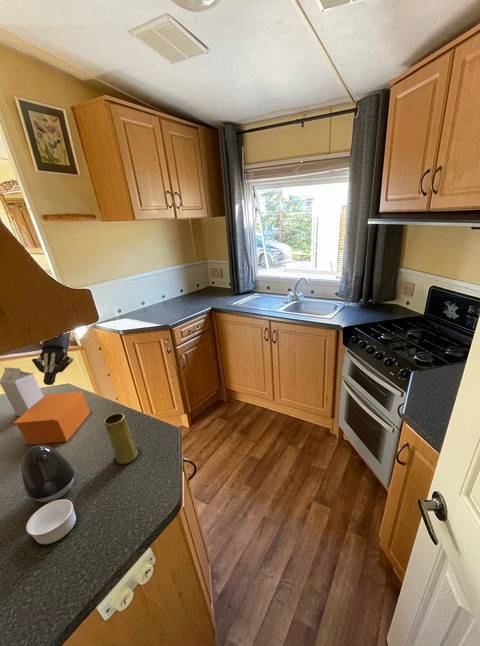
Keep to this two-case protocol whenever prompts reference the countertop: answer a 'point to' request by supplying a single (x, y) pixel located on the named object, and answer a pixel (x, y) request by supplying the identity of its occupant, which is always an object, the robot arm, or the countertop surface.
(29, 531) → the ramekin
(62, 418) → the box
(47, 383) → the robot arm
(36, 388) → the milk carton
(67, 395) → the lid
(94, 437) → the countertop surface
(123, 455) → the vase
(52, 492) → the dark rounded cone
